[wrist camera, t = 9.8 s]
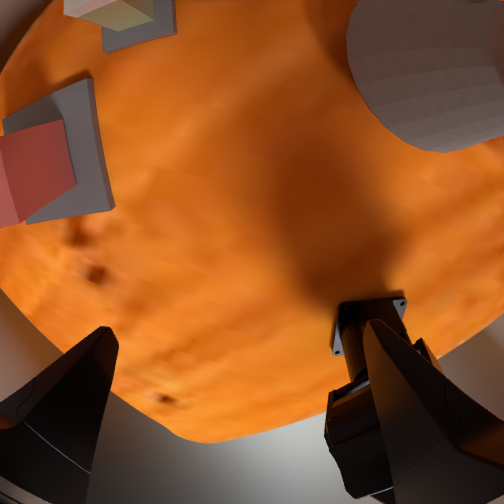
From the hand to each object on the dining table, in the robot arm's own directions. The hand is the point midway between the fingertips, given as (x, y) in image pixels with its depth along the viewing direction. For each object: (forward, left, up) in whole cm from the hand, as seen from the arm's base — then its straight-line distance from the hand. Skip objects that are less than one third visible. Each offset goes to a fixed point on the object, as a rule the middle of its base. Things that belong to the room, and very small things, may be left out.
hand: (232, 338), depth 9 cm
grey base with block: (+15, +6, -12) cm, 20 cm away
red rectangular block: (+6, +15, -11) cm, 20 cm away
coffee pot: (+14, -9, -12) cm, 21 cm away
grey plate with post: (+6, +15, -12) cm, 20 cm away
